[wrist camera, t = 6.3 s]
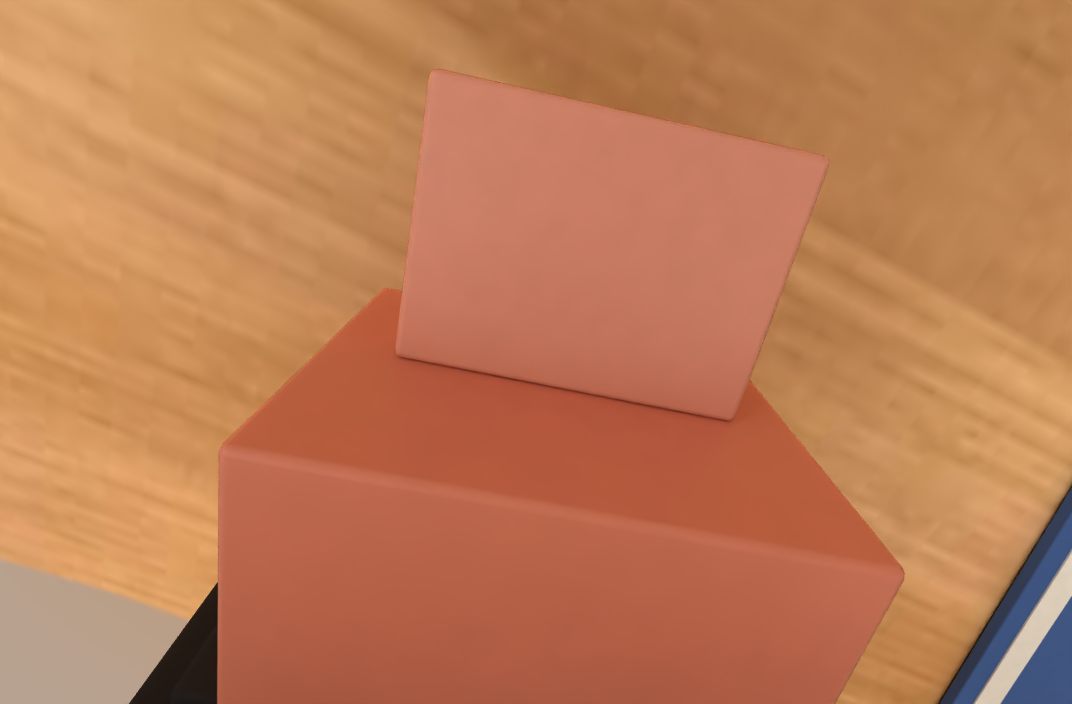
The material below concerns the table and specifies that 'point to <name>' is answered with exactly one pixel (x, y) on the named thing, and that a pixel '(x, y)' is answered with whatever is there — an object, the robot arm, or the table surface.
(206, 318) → the table surface
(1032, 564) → the cloth
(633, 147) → the red rectangular block
